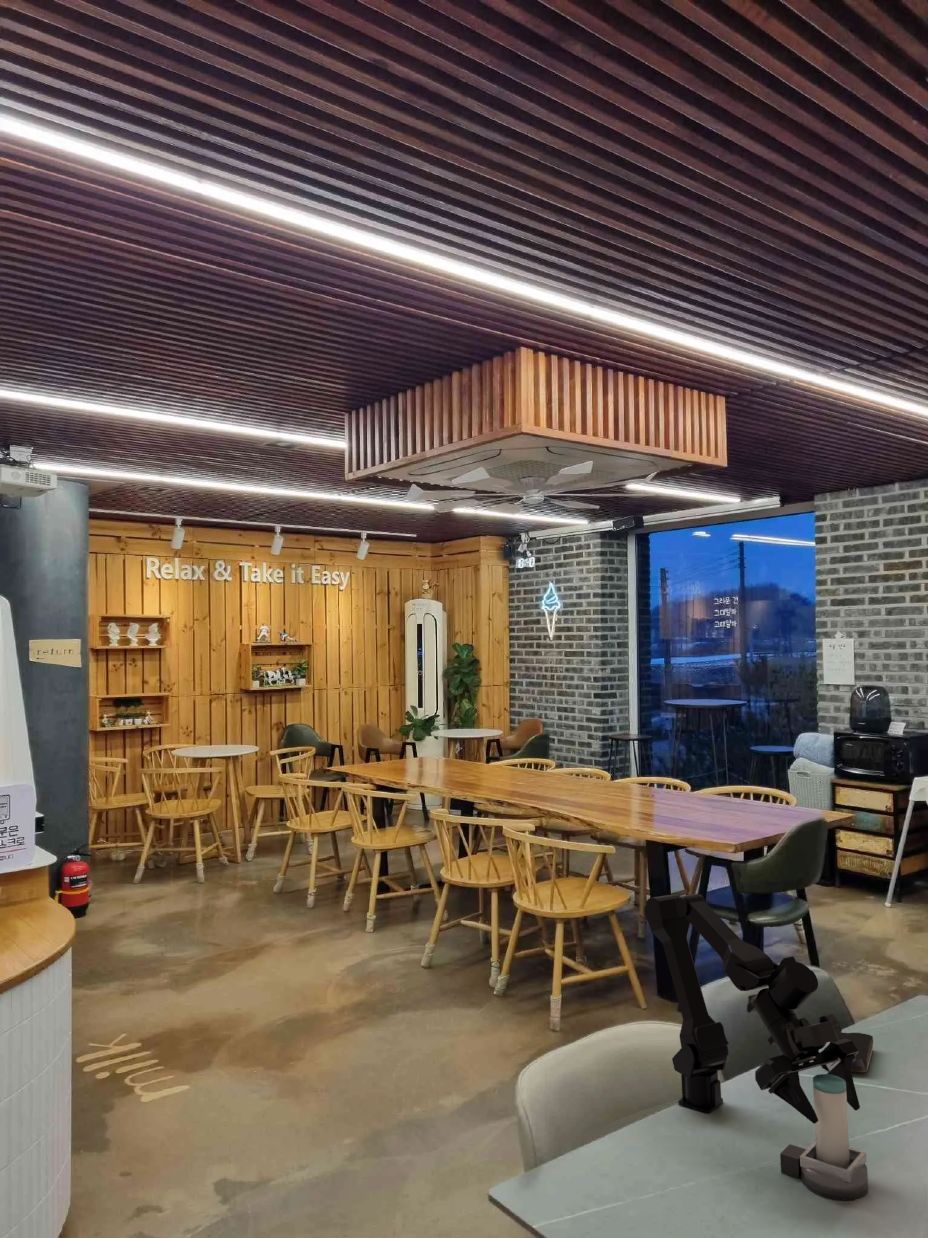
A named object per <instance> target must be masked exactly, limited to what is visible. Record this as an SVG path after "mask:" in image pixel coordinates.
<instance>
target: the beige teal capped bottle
mask: <svg viewBox="0 0 928 1238" xmlns="http://www.w3.org/2000/svg"><path fill="white" fill-rule="evenodd" d="M812 1089H813V1091H812V1092H813V1109H814V1111H815V1113H816V1115H817V1118H818V1122H817V1123H815V1124H814V1128H815V1129H814V1130H815V1131H814V1132H815V1140H816V1156H817V1160H819V1161H822V1162H825V1163H828V1164H831V1165H835V1166H838V1167H841V1168H844V1169H848V1167H849V1166H850V1154H849V1147H850V1137H849V1135H850V1134H849V1117H848V1116H849V1115H848V1102H847V1094H846V1081H845V1080H844V1079H842V1078H840V1077H838V1076H835V1075H829V1074H827V1073H826V1074H825V1073H822V1074H820V1073H818V1074H816V1075H814V1076H813V1077H812Z"/></svg>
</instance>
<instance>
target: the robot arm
mask: <svg viewBox="0 0 928 1238" xmlns="http://www.w3.org/2000/svg"><path fill="white" fill-rule="evenodd" d="M647 899H648V900H647V902H646V904H645V906H644V916H645V918H646V921H647V923H648V926H649V929H650V932H651V933H653V935H654V936H655V937H656V938H657V939H658V941H660V943H661V944H662V947H663V950H664V955H665V957H666V961H667V966H668V969H669V973H670V976H671V980H672V984H673V988H674V991H675V995H676V998H677V1002H678V1005H679V1006H678V1007H679V1009H680V1013H681V1016H682V1023H681V1028H680V1032H679V1042H680V1049H679V1050H678V1051H677V1052H676V1054H674V1056H673V1057H672V1059H671V1061H672V1065H673V1069H674V1071H676V1072H677V1073H679V1074H680V1077H681V1098H680V1099H679V1100H678V1101H677V1103H678V1105H680V1106H684V1107H686V1108H689V1109H694V1110H697V1111H700V1112H703V1113H708V1114H709V1113H711V1112H712V1111H713V1110H715V1109H716V1108H717V1107H719V1106H720V1105H721V1104H722V1103H724V1099H723V1098H722V1090H721V1089H722V1086H721V1080H719V1071H724V1070H725V1068H726V1064H727V1063H726V1062H727V1058H728V1056H729V1047H728V1045H729V1044H730V1043H729V1041H728V1039H727V1037H726V1034H725V1030H724V1025H723V1023H722V1022H720V1021H718V1022H716V1021H715V1020H714V1019H713V1018H712V1017H711V1016H710V1014H709V1012H708V1008H707V1006H706V1001H705V998H704V995H703V992H702V991H703V990H702V987H701V983H700V980H699V976H698V973H697V970H696V965H695V962H694V960H693V955H692V952H691V947H690V945H689V941H688V935H689V931H690V926H692V927H693V928H694V929H695V930H696V931H697V932H698V934H699V935H700V936H701V937H702V938H703V939H704V940H705V941H706V943H708V945H709V946H710V947H711V948H712V949H713V951H714V952H716V953H717V954H718V956H719V958H721V960H722V963H723V971H724V973H725V974H726V975H727V977H728V978H729V980H730V981H731V983H732V984H733V985H734V987H735V989H737V990H739V991H740V992H748V991H755V990H757V989H760V990H759V991H758V992H757V993H756V994H751V995H748V997H747V999H748V1001H747V1004H746V1012H747V1013H753V1012H754V1013H755V1012H756V1013H757V1015H758V1016H759V1018H760V1020H761V1021H762V1023H763V1024H764V1026H765V1029H766V1030H767V1031H768V1033H769V1035H770V1037H768V1039H767V1042H768V1043H769V1045H770V1046H774V1045H776V1047H777V1049H778V1050H779V1052H780V1054H781V1055H778V1056H773V1057H769V1058H767V1059H766V1060H765V1061H764V1062H763V1063H762V1064H761V1065H760V1066H759V1067H758V1068H757V1069H756V1070H755V1071H754V1072H755V1073H754V1077H755V1078H754V1079H755V1083H756V1084H757V1086H758V1087H759V1089H760V1091H765V1090H768V1093H769V1094H770V1095H772V1094H773V1095H775V1096H777V1097H778V1098H779V1099H781V1100H783V1101H784V1102H786V1103H787V1104H788V1105H790V1106H791V1107H792V1108H794V1109H795V1110H796V1111H797V1112H799V1113H800V1115H802V1116H803V1117H805V1118H806V1119H807V1120H808V1121H810V1122H811V1123H812V1124H814V1125H815V1123H817V1122H818V1118H817V1115H816V1113H815V1111H814V1106H813V1105H812V1104H811V1102H810V1100H809V1098H808V1097H807V1095H806V1093H805V1091H804V1089H803V1088H802V1085H801V1081H800V1073H799V1072H802V1071H806V1070H810V1069H813V1068H817V1067H821V1068H822V1070H825V1071H827V1073H826V1074H829V1075H835V1076H838V1077H840V1078H842V1079H844V1080H845V1081H846V1094H847V1105H848V1104H849V1106H850V1107H851V1108H852V1109H853V1110H854V1111H858V1110H860V1108H861V1105H860V1101H859V1098H858V1097H859V1096H858V1094H857V1090H856V1086H855V1083H854V1079H853V1078H854V1076H853V1073H852V1063H853V1062H854V1061H855V1060H856V1057H855V1055H856V1054H858V1053H859V1051H858V1050H857V1048H856V1047H855V1045H854V1043H853V1042H852V1041H851V1040H849V1039H846V1038H845V1039H841V1040H838V1037H837V1034H841V1033H843V1032H842V1031H843V1030H842V1027H841V1024H840V1021H839V1020H838V1019H837V1018H836V1017H835V1015H834V1014H833V1013H829V1014H826V1015H825V1014H824V1015H822V1016H819V1023H815V1024H811V1023H810V1022H809V1020H808V1019H806V1017H803V1018H800V1017H799V1016H798V1014H797V1013H796V1011H795V1010H798V1009H800V1007H802V1005H804V1003H805V1002H807V1000H808V999H809V998H811V997H812V995H813V994H814V993H815V992H816V991H817V989H819V988H818V987H819V979H818V977H817V975H816V973H815V972H814V970H812V969H810V968H809V967H808V966H807V965H806V964H804V963H801V962H799V961H797V960H796V959H795V957H794V956H793V955H791V956H787V957H783V958H782V959H781V960H780V962H779V964H778V963H777V962H775V961H774V960H772V958H771V957H770V956H769V955H768V954H767V953H765V952H764V951H762V950H761V949H760V948H759V947H757V946H756V945H753V944H751V943H748V942H746V941H744V940H742V938H740V937H739V935H737V933H735V932H734V931H733V930H732V929H731V927H730V926H729V925H728V924H727V923H726V922H725V921H724V920H723V919H722V918H721V917H720V916H719V915H718V914H717V913H716V912H715V911H714V909H713V908H711V906H710V905H709V904H708V903H707V899H706V898H705V897H704V895H702V894H699V893H693V894H686V895H679V894H677V893H675V894H667V895H661V896H653V897H650V898H647ZM831 1041H833V1042H831ZM830 1042H831V1043H830ZM827 1043H830V1044H828V1045H827ZM826 1045H827V1046H826ZM824 1047H825V1048H824ZM823 1048H824V1049H823ZM821 1049H822V1051H821V1052H820V1050H821Z"/></svg>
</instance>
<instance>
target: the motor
mask: <svg viewBox="0 0 928 1238" xmlns="http://www.w3.org/2000/svg"><path fill="white" fill-rule="evenodd" d="M849 1154H850V1166H849V1167H848V1169H844V1168H841V1167H838V1166H835V1165H831V1164H828V1163H825V1162H822V1161H819V1160H817V1156H816V1139H815V1140H814V1141H813V1142H812V1143H811V1144H810V1145H809V1146H808V1147H807V1148H803V1147H801V1146H797V1145H794V1144H790V1143H789V1144H788V1145H787V1146H786V1147H785V1148H784V1149H783V1150H782V1151H781V1152H780V1153H779V1158H780V1159H779V1160H780V1173H781V1174H785V1175H787V1176H791V1177H794V1178H797V1179H800V1178H801V1182H802V1184H803V1186H805V1188H806V1189H808V1190H809V1191H810V1192H812V1193H814V1194H815V1195H818V1196H820V1197H822V1198H823V1197H824V1198H825V1199H829V1200H834V1201H840V1202H841V1201H842V1202H843V1201H844V1202H846V1201H847V1202H848V1201H850V1202H851V1201H857V1200H860V1199H862V1198H864V1197H865V1196H867V1194H869V1178H868V1177H869V1176H868V1173H869V1172H868V1167H867V1165H866V1164H867V1162H868V1161H867V1152H866V1151H863V1150H859V1149H856V1148H853V1147H850V1146H849Z"/></svg>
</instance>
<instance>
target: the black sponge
mask: <svg viewBox="0 0 928 1238" xmlns="http://www.w3.org/2000/svg"><path fill="white" fill-rule="evenodd" d="M837 1037H838V1040H841V1039H845V1038H846V1039H849V1040H851V1041H852V1042H853V1043H854V1045H855V1047H856V1048H857V1050H858V1051H859V1053H858V1054H856V1055H855V1057H856V1060H855V1061H854V1062H853V1063H852V1072H855V1073H866V1072H868V1069H869V1065H870V1061H871V1057H872V1055H873V1049H874V1037H873V1035H871V1034H868V1033H867V1034H866V1033H862V1032H841V1034H837ZM831 1042H833V1041H831ZM831 1042H828V1043H829V1044H830V1043H831ZM829 1044H828V1045H829Z"/></svg>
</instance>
